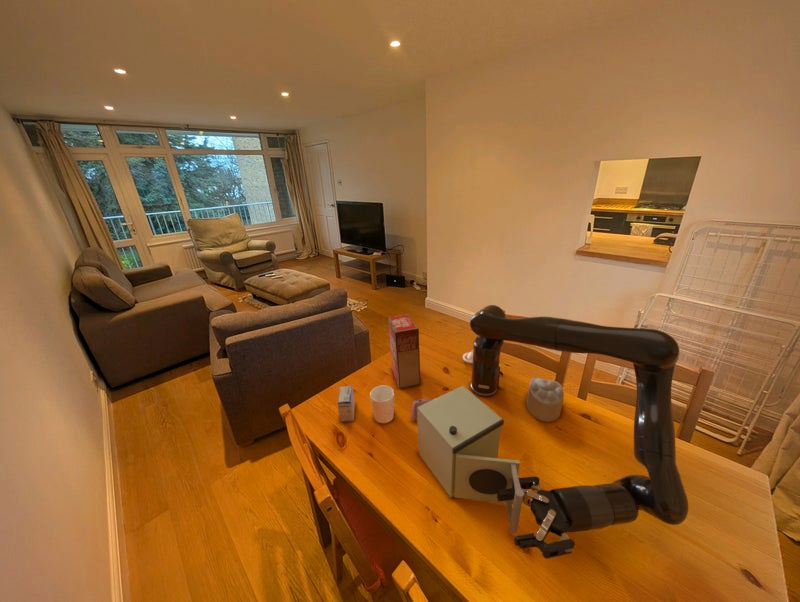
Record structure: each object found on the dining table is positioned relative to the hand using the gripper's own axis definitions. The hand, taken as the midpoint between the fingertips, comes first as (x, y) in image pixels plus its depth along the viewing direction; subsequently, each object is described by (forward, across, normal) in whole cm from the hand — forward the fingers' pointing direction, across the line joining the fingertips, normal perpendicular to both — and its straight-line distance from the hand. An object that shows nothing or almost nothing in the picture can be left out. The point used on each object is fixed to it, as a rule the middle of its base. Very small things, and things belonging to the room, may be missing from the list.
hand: (505, 517), depth 60 cm
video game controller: (+10, +39, -10) cm, 41 cm away
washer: (+4, +21, -10) cm, 24 cm away
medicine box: (+37, +44, -10) cm, 58 cm away
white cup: (+24, +41, -10) cm, 49 cm away
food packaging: (+15, +61, -10) cm, 63 cm away
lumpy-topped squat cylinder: (-30, +37, -10) cm, 49 cm away
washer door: (+2, +6, -9) cm, 10 cm away
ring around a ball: (-15, +66, -10) cm, 69 cm away
